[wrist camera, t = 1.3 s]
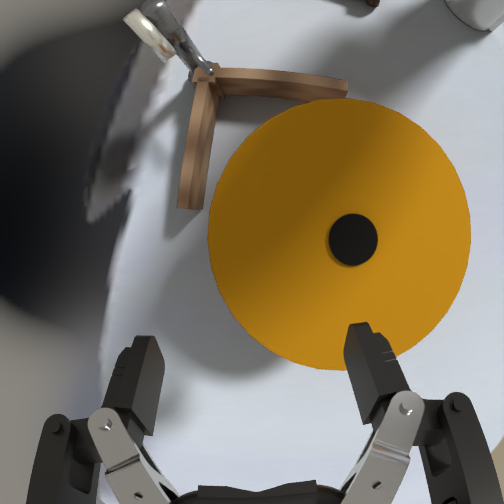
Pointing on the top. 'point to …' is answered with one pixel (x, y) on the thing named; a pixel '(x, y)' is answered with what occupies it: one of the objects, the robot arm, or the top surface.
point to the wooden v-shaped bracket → (237, 84)
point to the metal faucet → (166, 35)
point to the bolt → (373, 2)
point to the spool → (338, 230)
